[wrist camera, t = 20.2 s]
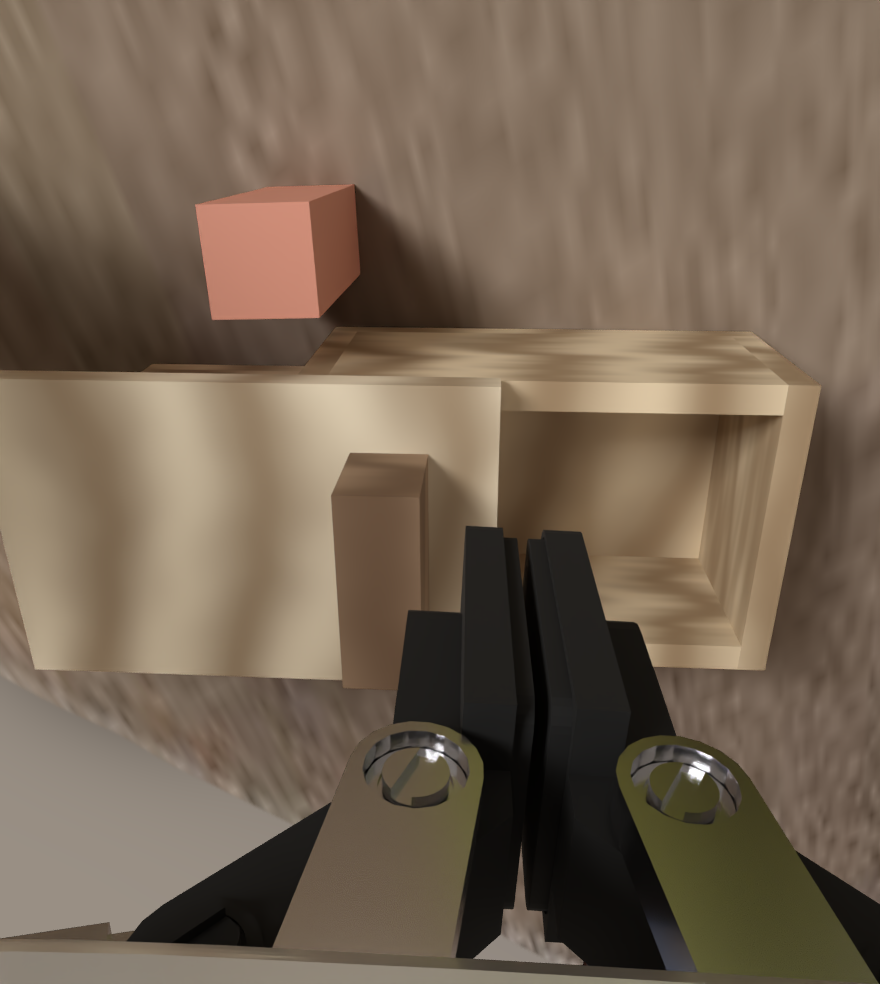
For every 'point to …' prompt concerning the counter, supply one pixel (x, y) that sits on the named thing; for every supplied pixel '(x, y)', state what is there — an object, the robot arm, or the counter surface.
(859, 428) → the counter surface
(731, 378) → the wooden box
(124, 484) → the lid
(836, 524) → the counter surface
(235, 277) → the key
